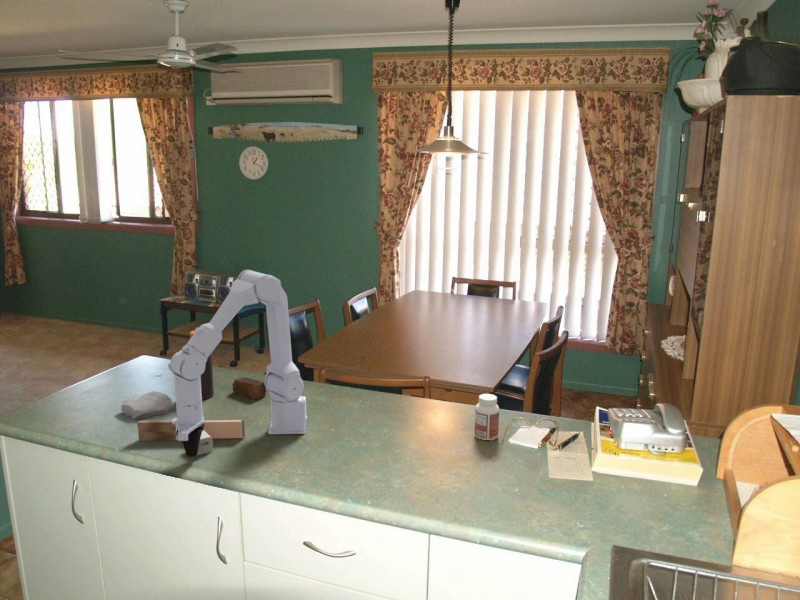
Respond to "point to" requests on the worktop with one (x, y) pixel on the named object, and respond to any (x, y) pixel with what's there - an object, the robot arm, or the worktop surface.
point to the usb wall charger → (205, 443)
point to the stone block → (147, 405)
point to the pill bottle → (487, 417)
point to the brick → (249, 388)
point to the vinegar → (206, 377)
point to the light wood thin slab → (224, 428)
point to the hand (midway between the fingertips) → (192, 455)
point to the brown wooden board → (156, 430)
